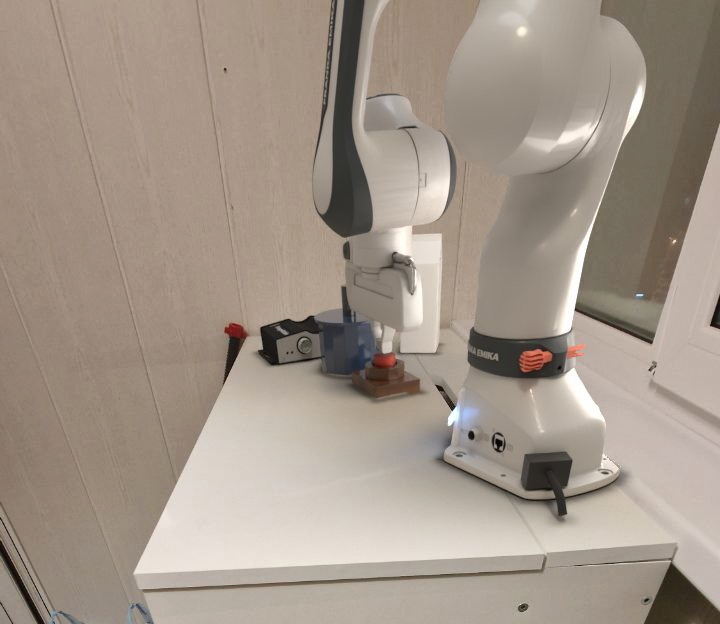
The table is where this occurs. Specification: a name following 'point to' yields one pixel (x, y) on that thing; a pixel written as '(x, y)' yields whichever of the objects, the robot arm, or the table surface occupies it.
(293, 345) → the electronic device
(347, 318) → the lid
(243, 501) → the table surface
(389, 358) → the button
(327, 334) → the pot
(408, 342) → the milk carton
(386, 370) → the block
